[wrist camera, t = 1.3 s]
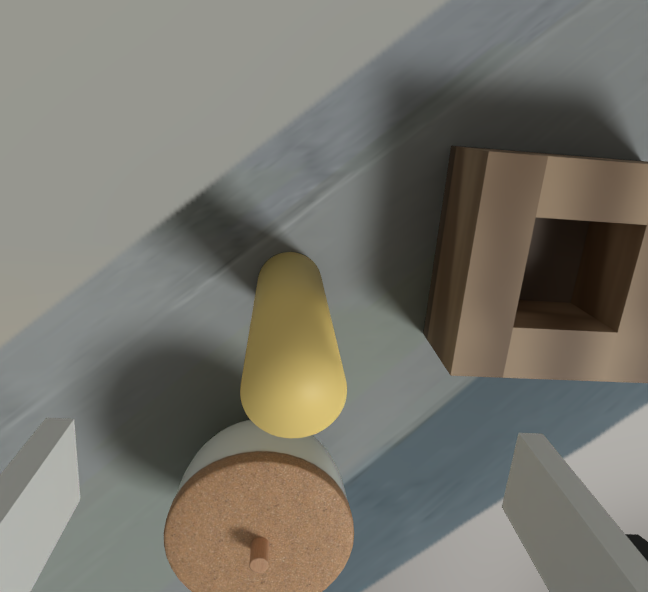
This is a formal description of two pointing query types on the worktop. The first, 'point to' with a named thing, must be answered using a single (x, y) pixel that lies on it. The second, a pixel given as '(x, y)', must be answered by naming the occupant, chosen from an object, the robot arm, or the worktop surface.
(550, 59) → the worktop surface
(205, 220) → the worktop surface
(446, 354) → the socket block
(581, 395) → the worktop surface
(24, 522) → the robot arm
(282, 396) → the dowel
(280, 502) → the lidded jar
